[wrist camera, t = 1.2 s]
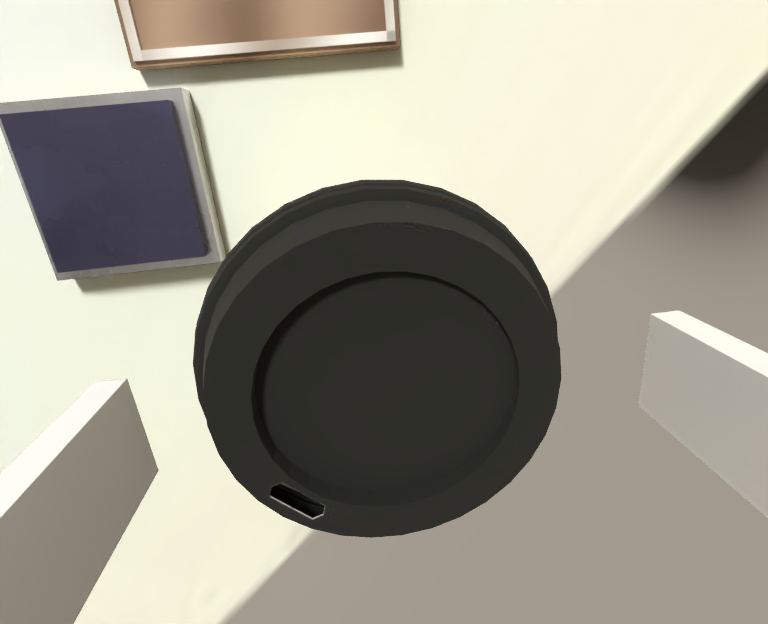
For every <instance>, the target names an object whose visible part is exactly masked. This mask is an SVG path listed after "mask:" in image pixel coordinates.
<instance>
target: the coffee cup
mask: <svg viewBox="0 0 768 624" xmlns="http://www.w3.org/2000/svg"><path fill="white" fill-rule="evenodd" d="M193 367H194V373H195V380H196V386H197V393H198V399H199V402H200V404H201V407H202V409H203V412H204V414H205V417H206V419H207V425H208V428H209V431H210V433H211V436H212V438H213V441H214V443H215V446H216V448H217V451H218V453H219V455H220V457H221V458H222V460H223V461H224V463H225V464H226V465H227V467H228V468H229V470H230V471H231V473H232V474H233V476H234V477H235V479H236V480H237V481H238V482H239V483H240V484H241V485H242V486H243V487H244V488H245V489H247V490H248V491H249V492H250V493H251V494H252V495H253V496H254V497H255V498H256V499H257V500H258V501H260V502H261V503H263V504H264V505H266V506H267V507H269V508H270V509H272V510H274V511H275V512H277V513H278V514H280V515H281V516H283V517H285V518H287V519H290V520H292V521H295V522H297V523H299V524H302V525H304V526H307V527H309V528H312V529H316V530H320V531H325V532H329V533H333V534H338V535H344V536H359V537H383V536H395V535H404V534H408V533H413V532H417V531H421V530H425V529H430V528H433V527H436V526H438V525H441V524H443V523H446V522H448V521H451V520H453V519H456V518H458V517H461V516H463V515H464V514H466V513H468V512H469V511H471V510H473V509H475V508H476V507H478V506H480V505H481V504H483V503H485V502H487V501H488V500H489V499H490V498H491V497H493V496H494V495H495V494H496V493H498V492H499V491H500V490H501V489H503V488H504V487H505V486H506V485H507V484H509V483H510V482H511V481H512V479H514V477H515V476H516V475H517V474H518V473H519V472H520V471H521V470H522V468H523V467H524V466H525V465H526V464H527V463H528V462H529V461H530V459H531V458H532V456H533V454H534V453H535V451H536V449H537V448H538V446H539V445H540V443H541V441H542V440H543V438H544V436H545V435H546V432H547V430H548V427H549V425H550V422H551V419H552V416H553V414H554V412H555V409H556V405H557V399H558V394H559V388H560V381H561V365H560V347H559V343H558V338H557V321H556V317H555V313H554V309H553V306H552V302H551V298H550V295H549V291H548V287H547V285H546V283H545V282H544V280H543V278H542V276H541V274H540V272H539V270H538V268H537V266H536V265H535V263H534V261H533V259H532V257H531V256H530V255H529V253H528V252H527V251H526V250H525V248H524V247H523V246H522V245H521V244H520V243H519V241H518V240H517V239H516V238H515V237H514V236H513V234H512V233H511V232H510V231H509V230H508V229H507V227H506V226H505V225H504V224H502V223H501V222H500V221H498V220H497V219H496V218H494V217H493V216H492V215H490V214H489V213H488V212H486V211H485V210H483V209H482V208H481V207H479V206H478V205H477V204H475V203H473V202H471V201H469V200H466V199H464V198H462V197H460V196H458V195H455V194H453V193H451V192H449V191H446V190H444V189H442V188H438V187H433V186H429V185H424V184H419V183H415V182H410V181H405V180H359V181H354V182H349V183H345V184H340V185H335V186H330V187H325V188H321V189H319V190H317V191H314V192H312V193H310V194H307V195H305V196H303V197H300V198H298V199H296V200H293V201H291V202H289V203H287V204H285V205H283V206H282V207H280V208H279V209H278V210H276V211H275V212H273V213H272V214H270V215H269V216H268V217H266V218H265V219H263V220H262V221H260V222H259V223H258V224H256V225H255V226H253V227H252V228H251V229H250V230H249V232H248V233H247V234H246V235H245V236H244V237H243V238H242V239H241V240H240V241H239V242H238V243H237V245H236V246H235V247H234V248H233V249H232V250H231V251H230V252H229V253H228V254H227V255H226V257H225V259H224V261H223V262H222V264H221V266H220V267H219V269H218V271H217V273H216V274H215V276H214V278H213V279H212V281H211V283H210V285H209V286H208V289H207V292H206V295H205V298H204V302H203V305H202V308H201V311H200V314H199V318H198V321H197V327H196V330H195V344H194V357H193Z"/></svg>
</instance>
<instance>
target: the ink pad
mask: <svg viewBox="0 0 768 624" xmlns="http://www.w3.org/2000/svg"><path fill="white" fill-rule="evenodd" d="M0 127H1V130H2V133H3V135H4V138H5V141H6V144H7V146H8V149H9V152H10V154H11V157H12V160H13V162H14V165H15V168H16V170H17V173H18V176H19V178H20V181H21V184H22V187H23V189H24V192H25V195H26V197H27V200H28V203H29V205H30V208H31V211H32V213H33V216H34V219H35V222H36V224H37V227H38V230H39V232H40V235H41V238H42V240H43V243H44V246H45V248H46V251H47V254H48V256H49V259H50V262H51V265H52V267H53V270H54V273H55V275H56V278H57V281H58V280H67V279H76V278H85V277H94V276H103V275H112V274H120V273H129V272H138V271H147V270H156V269H165V268H174V267H182V266H191V265H200V264H209V263H218V262H222V261H223V260H224V259H225V257H226V253H225V249H224V244H223V240H222V235H221V231H220V226H219V222H218V217H217V213H216V208H215V204H214V200H213V195H212V191H211V186H210V182H209V177H208V173H207V168H206V164H205V159H204V155H203V150H202V146H201V141H200V137H199V132H198V128H197V124H196V119H195V115H194V110H193V106H192V101H191V97H190V92H189V91H188V90H186V89H183V88H171V89H160V90H148V91H136V92H124V93H113V94H101V95H89V96H77V97H66V98H54V99H42V100H31V101H19V102H7V103H0Z"/></svg>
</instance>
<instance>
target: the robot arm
mask: <svg viewBox="0 0 768 624" xmlns="http://www.w3.org/2000/svg"><path fill="white" fill-rule="evenodd" d="M638 406H639V407H640V408H642V409H643V410H644V411H645V412H646V413H648V415H650V416H651V417H652V418H653V419H655V421H657V422H658V423H659V424H660V425H661V426H662V427H663V428H665V429H666V430H667V431H668V432H669V433H670V434H672V435H673V436H674V437H675V438H676V439H677V440H678V441H680V442H681V443H682V444H683V445H684V446H685V447H686V448H688V449H689V450H690V451H691V452H692V453H693V454H695V455H696V456H697V457H698V458H699V459H700V460H701V461H703V462H704V463H705V464H706V465H707V466H708V467H710V468H711V469H712V470H713V471H714V472H715V473H716V474H718V475H719V476H720V477H721V478H722V479H723V480H724V481H726V482H727V483H728V484H729V485H730V486H731V487H732V488H734V489H735V490H736V491H737V492H738V493H739V494H741V495H742V496H743V497H744V498H745V499H746V500H747V501H749V502H750V503H751V504H752V505H753V506H754V507H756V508H757V509H758V510H759V511H760V512H761V513H762V514H764V515H765V516H766V517H767V518H768V353H766V352H764V351H762V350H759V349H758V348H756V347H753V346H751V345H749V344H747V343H745V342H743V341H741V340H739V339H737V338H735V337H733V336H730V335H729V334H727V333H725V332H723V331H720V330H718V329H716V328H714V327H712V326H710V325H708V324H706V323H704V322H702V321H700V320H698V319H696V318H694V317H692V316H690V315H687V314H685V313H683V312H681V311H671V312H663V313H655V314H651V317H650V323H649V331H648V338H647V345H646V352H645V360H644V367H643V374H642V381H641V389H640V396H639V403H638ZM157 472H158V468H157V465H156V462H155V459H154V456H153V453H152V450H151V447H150V444H149V441H148V439H147V436H146V433H145V430H144V427H143V424H142V421H141V418H140V415H139V412H138V409H137V406H136V403H135V400H134V398H133V395H132V392H131V389H130V386H129V383H128V380H127V379H119V380H111V381H103V382H95V383H93V384H92V385H91V386H90V387H89V388H88V389H87V390H86V391H85V392H84V393H83V394H82V395H81V396H80V397H79V398H78V399H77V400H76V401H75V402H74V403H73V404H72V405H70V406H69V407H68V408H67V409H66V410H65V411H64V412H63V413H62V414H61V415H60V416H59V417H58V418H57V419H56V420H55V421H54V422H53V423H52V424H51V425H50V426H49V427H48V428H47V429H46V430H45V431H44V432H43V433H42V434H41V435H40V436H39V437H37V438H36V439H35V440H34V441H33V442H32V443H31V444H30V445H29V446H28V447H27V448H26V449H25V450H24V451H23V452H22V453H21V454H20V455H19V456H18V457H17V458H16V459H15V460H14V461H13V462H12V463H11V464H10V465H9V466H8V467H7V468H5V469H4V470H3V471H2V472H1V473H0V624H73V623H74V622H75V620H76V618H77V616H78V614H79V613H80V611H81V609H82V607H83V605H84V604H85V602H86V600H87V598H88V596H89V595H90V593H91V591H92V589H93V587H94V586H95V584H96V582H97V580H98V578H99V577H100V575H101V573H102V571H103V569H104V568H105V566H106V564H107V562H108V560H109V559H110V557H111V555H112V553H113V551H114V550H115V548H116V546H117V544H118V542H119V541H120V539H121V537H122V535H123V533H124V532H125V530H126V528H127V526H128V524H129V523H130V521H131V519H132V517H133V515H134V514H135V512H136V510H137V508H138V506H139V505H140V503H141V501H142V499H143V497H144V496H145V494H146V492H147V490H148V488H149V486H150V485H151V483H152V481H153V479H154V477H155V476H156V474H157Z"/></svg>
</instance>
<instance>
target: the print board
mask: <svg viewBox="0 0 768 624" xmlns="http://www.w3.org/2000/svg"><path fill="white" fill-rule="evenodd" d="M114 1H115V5H116V9H117V13H118V16H119V20H120V24H121V28H122V32H123V35H124V39H125V43H126V47H127V51H128V55H129V58H130V62H131V66H132V68H134V69H137V70H151V69H163V68H175V67H188V66H200V65H212V64H224V63H236V62H249V61H261V60H273V59H285V58H297V57H310V56H322V55H334V54H346V53H358V52H371V51H383V50H395V49H398V48H399V47H400V36H399V21H398V6H397V0H114Z"/></svg>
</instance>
